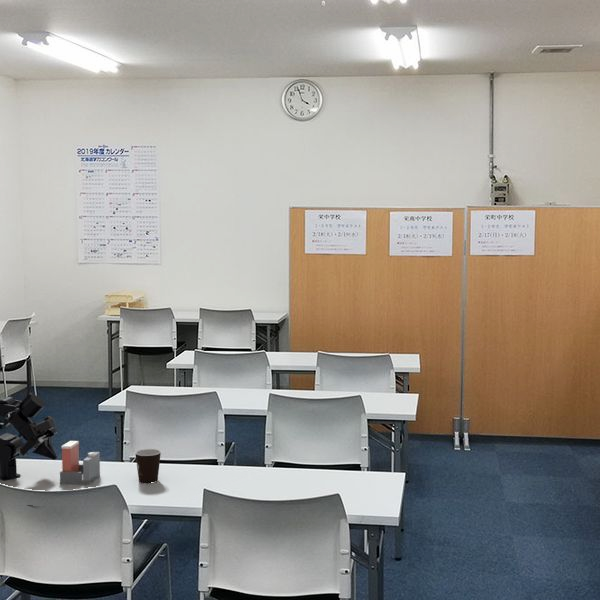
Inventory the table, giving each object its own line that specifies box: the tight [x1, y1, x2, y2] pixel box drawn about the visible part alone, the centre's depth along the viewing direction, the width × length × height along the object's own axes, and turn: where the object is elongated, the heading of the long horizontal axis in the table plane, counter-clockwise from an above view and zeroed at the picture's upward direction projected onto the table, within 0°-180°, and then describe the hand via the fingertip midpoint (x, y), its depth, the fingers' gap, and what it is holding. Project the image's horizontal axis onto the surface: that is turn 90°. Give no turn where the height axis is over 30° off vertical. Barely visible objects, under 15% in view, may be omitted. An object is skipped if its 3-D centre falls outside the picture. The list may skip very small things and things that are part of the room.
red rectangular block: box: [61, 440, 80, 472], centre depth 265 cm, size 3×7×11 cm, turn 174°
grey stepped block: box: [59, 451, 101, 486], centre depth 265 cm, size 10×10×10 cm
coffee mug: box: [134, 448, 162, 484], centre depth 265 cm, size 12×9×10 cm
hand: (55, 458), depth 265 cm, fingers closed
